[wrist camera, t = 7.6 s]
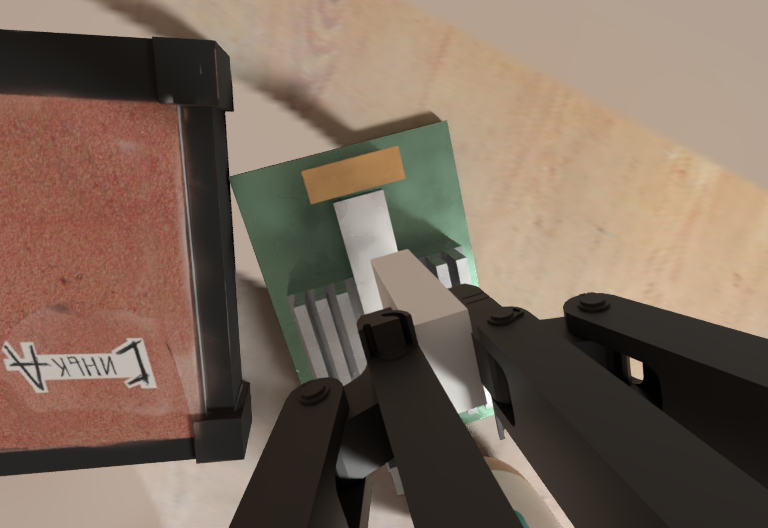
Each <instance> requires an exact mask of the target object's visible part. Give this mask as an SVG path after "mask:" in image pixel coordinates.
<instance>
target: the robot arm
mask: <svg viewBox="0 0 768 528" xmlns="http://www.w3.org/2000/svg"><path fill="white" fill-rule="evenodd" d="M370 261H371V265H372V269H373V273H374V276H375V280H376V284H377V287H378V291H379V295H380V299H381V302H382V306H383V309H382V310H378V311H375V312H372V313H368V314H365V315H362V316H360V318H359V320H358V322H357V324H356V325H357V329H358V334H359V337H360V340H361V344H362V347H363V351H364V354H365V358H366V361H367V365H366V368H365V370H364V371H363V372H362V374H361V375H359V376H358V377H357V378H356V379H354V380H353V381H351V382H350V383H348V384H346V385H344V386H343V384H342V382H340V381H339V380H338V379H336V378H331V377H326V378H318V379H315V380H310V381H307V383H303V384H302V385H300V386H299V387H298V388H296V389H295V390H294V391H293V392H291V394H290V395H289V396H288V398H287V399H286V401H285V404H284V406H283V408H282V410H281V412H280V415H279V417H278V419H277V421H276V424H275V426H274V428H273V430H272V432H271V435H270V437H269V439H268V441H267V444H266V446H265V448H264V450H263V452H262V455H261V457H260V459H259V461H258V464H257V466H256V468H255V470H254V472H253V475H252V477H251V479H250V481H249V484H248V486H247V488H246V490H245V493H244V495H243V497H242V499H241V501H240V504H239V506H238V508H237V510H236V513H235V515H234V517H233V519H232V521H231V524H230V526H229V528H368V520H369V511H370V502H371V493H372V476H371V473H372V472H373V471H375V470H376V469H378V468H379V467H381V466H383V465H384V464H386V463H387V462H389V461H390V460H392V459H393V458H395V462H396V465H397V469H398V472H399V476H400V479H401V483H402V486H403V490H404V493H405V496H406V500H407V503H408V507H409V510H410V514H411V517H412V521H413V524H414V528H524V527H523V525H522V523H521V522H520V520H519V518H518V516H517V515H516V513H515V511H514V509H513V508H512V506H511V504H510V502H509V501H508V499H507V497H506V496H505V494H504V492H503V490H502V489H501V487H500V485H499V483H498V482H497V480H496V478H495V476H494V475H493V473H492V471H491V470H490V468H489V466H488V464H487V463H486V461H485V459H484V457H483V456H482V454H481V452H480V450H479V449H478V447H477V445H476V443H475V442H474V440H473V438H472V437H471V435H470V433H469V431H468V430H467V428H466V426H465V424H464V423H463V421H462V419H461V417H460V416H459V413H462V412H465V411H468V410H471V409H474V408H477V407H480V406H483V405H486V404H487V400H486V395H485V390H484V387H485V388H486V389H487V391H488V392H489V393H490V395H491V399H492V404H493V409H494V414H495V419H496V424H497V429H498V434H499V437H500V440H503V439H505V437H504V432H503V431H504V429H506V430H507V432H508V433H509V435H510V436H511V437H512V439H513V440H514V442H515V443H516V445H517V446H518V447H519V449H520V450H521V452H522V453H523V455H524V456H525V457H526V459H527V460H528V462H529V463H530V464H531V466H532V467H533V469H534V470H535V472H536V473H537V474H538V476H539V477H540V479H541V480H542V482H543V483H544V484H545V486H546V487H547V489H548V490H549V492H550V493H551V494H552V496H553V497H554V499H555V500H556V502H557V503H558V504H559V506H560V507H561V509H562V510H563V511H564V513H565V514H566V516H567V517H568V519H569V520H570V521H571V523H572V524H573V526H574V527H575V528H768V339H766V338H762V337H759V336H755V335H752V334H748V333H745V332H741V331H738V330H734V329H731V328H727V327H724V326H720V325H717V324H713V323H710V322H706V321H703V320H699V319H696V318H692V317H689V316H685V315H682V314H678V313H674V312H671V311H667V310H664V309H660V308H657V307H653V306H650V305H646V304H643V303H639V302H636V301H632V300H629V299H625V298H622V297H618V296H615V295H610V294H604V293H594V292H591V293H587V294H586V293H584V294H580V295H579V296H576V297H573V298H571V299H569V300H568V301H566V302H565V304H564V306H563V310H564V317H559V318H552V319H544V320H539V319H538V318H536V317H535V316H534V315H532V314H531V313H530V312H528V311H527V310H525V309H522V308H519V307H512V306H511V307H502V306H501V305H500V304H498V303H497V302H496V301H495V300H493V299H492V298H490V296H488V295H487V294H486V293H484V291H482V290H481V289H480V288H479V287H477V286H474V285H470V284H466V283H464V284H461V285H457V286H454V287H451V288H446V287H445V286H444V285H443V284H442V283H441V282H440V281H439V280H438V279H437V278H436V277H435V276H434V275H433V274H432V273H431V272H430V271H429V270H428V269H427V268H426V267H425V266H424V265H423V264H422V263H421V262H420V261H419V260H418V259H417V258H416V257H415V256H414V255H413V254H412V253H411V252H410V251H409V250H408V249H405V250H402V251H398V252H395V253H391V254H388V255H384V256H381V257H378V258H374V259H371V260H370ZM629 357H631V358H633V359H636V360H638V361H641V362H643V374H644V378H643V380H639V379H637V378H634V377H632V376H631V369H630V358H629Z"/></svg>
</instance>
